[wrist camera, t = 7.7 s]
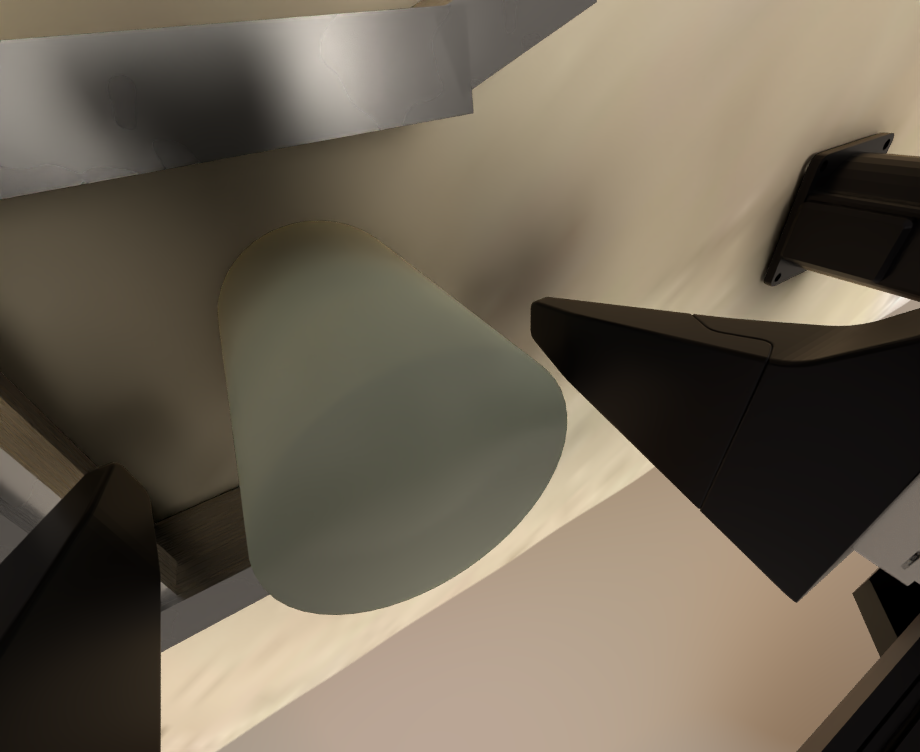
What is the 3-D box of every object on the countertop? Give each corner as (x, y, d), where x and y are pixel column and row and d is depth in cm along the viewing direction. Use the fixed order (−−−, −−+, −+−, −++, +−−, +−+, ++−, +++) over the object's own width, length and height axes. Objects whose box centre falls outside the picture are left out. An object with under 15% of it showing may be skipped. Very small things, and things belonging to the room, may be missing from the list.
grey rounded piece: (392, 199, 11) (578, 295, 6) (423, 359, 14) (559, 512, 9) (173, 252, 9) (152, 461, 4) (267, 421, 12) (323, 656, 7)
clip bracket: (504, -45, 9) (604, -88, 7) (515, 412, 18) (560, 456, 15) (-611, -6, 4) (-1415, -108, 2) (147, 589, 13) (139, 688, 11)
